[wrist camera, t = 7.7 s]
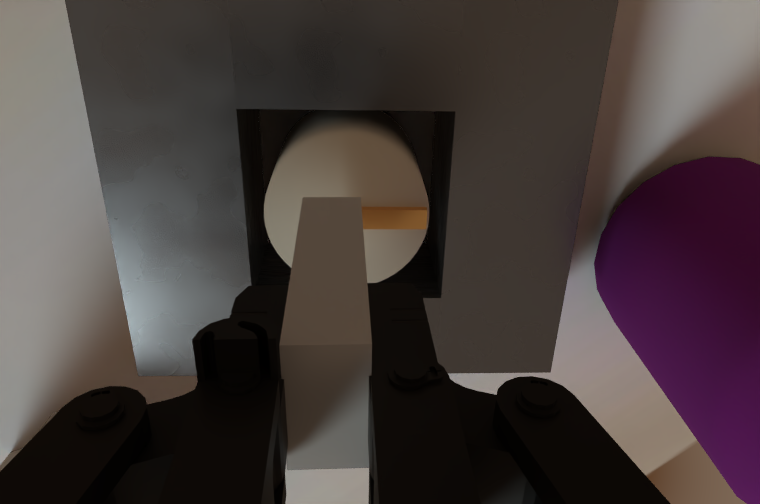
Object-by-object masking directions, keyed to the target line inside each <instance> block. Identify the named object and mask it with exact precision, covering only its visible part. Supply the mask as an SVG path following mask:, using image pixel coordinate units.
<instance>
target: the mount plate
mask: <svg viewBox="0 0 760 504" xmlns="http://www.w3.org/2000/svg"><path fill="white" fill-rule="evenodd" d="M65 3H66V8H67V13H68V18H69V23H70V28H71V33H72V38H73V44H74V49H75V54H76V59H77V64H78V69H79V74H80V79H81V85H82V90H83V95H84V100H85V105H86V110H87V115H88V120H89V126H90V131H91V136H92V141H93V146H94V151H95V156H96V161H97V167H98V172H99V177H100V182H101V187H102V192H103V197H104V202H105V207H106V213H107V218H108V223H109V228H110V233H111V238H112V243H113V248H114V254H115V259H116V264H117V269H118V274H119V279H120V284H121V289H122V295H123V300H124V305H125V310H126V315H127V320H128V325H129V330H130V335H131V341H132V346H133V351H134V356H135V361H136V366H137V371H138V376H196V375H197V372H196V365H195V358H194V351H193V343H192V339H193V338H194V336H195V335H196V334H197V332H198V331H199V330H201V329H202V328H204V327H205V326H207V325H209V324H210V323H213V322H216V321H219V320H222V319H226V318H229V317H230V315H231V310H232V307H233V304H234V301H235V298H236V297H237V296H238V295H239V294H240V293H241V292H242V291H244V290H245V289H246V288H247V287H248V286H275V285H289V281H290V275H291V267H290V266H289V265H288V264H286V263H285V262H284V261H283V259H282V258H281V257H280V256H279V254H278V253H277V252H276V250H275V248H274V247H273V245H272V244H268V237H267V230H266V227H265V220H264V202H265V193H264V178H263V163H262V149H261V134H260V119H259V109H292V110H379V111H436V112H435V128H434V144H433V160H432V176H431V192H430V208H429V224H428V240H427V244H421V246H420V248H419V250H418V251H417V253H416V254H415V255H414V257H413V258H412V259H411V260H410V261H409V262H408V263H407V264H406V265H405V266H404V267H403V268H402V269H401V270H399V271H398V272H397V273H395V274H394V275H392V276H390V277H388V278H387V279H384V280H382V281H380V282H377V283H411V284H412V285H413V286H414V287H415V288H416V289H417V290H418V291H419V292H420V293H421V294H422V296H423V301H424V305H425V311H426V313H427V318H428V322H429V326H430V331H431V335H432V339H433V343H434V348H435V352H436V356H437V361H438V363H439V364H440V365H442V366H443V367H444V368H445V370H446V372H447V373H532V372H551V366H552V361H553V355H554V350H555V344H556V339H557V333H558V328H559V322H560V317H561V311H562V306H563V300H564V295H565V290H566V284H567V279H568V273H569V268H570V262H571V257H572V251H573V246H574V240H575V235H576V229H577V224H578V218H579V213H580V207H581V202H582V197H583V191H584V186H585V180H586V175H587V169H588V164H589V158H590V153H591V147H592V142H593V136H594V131H595V125H596V120H597V114H598V109H599V104H600V98H601V93H602V87H603V82H604V76H605V71H606V65H607V60H608V54H609V49H610V43H611V38H612V32H613V27H614V21H615V16H616V11H617V5H618V0H65Z"/></svg>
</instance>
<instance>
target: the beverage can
mask: <svg viewBox="0 0 760 504" xmlns="http://www.w3.org/2000/svg"><path fill="white" fill-rule="evenodd" d="M594 266H595V275H596V284H597V290H598V292H599V294H600V296H601V298H602V300H603V302H604V304H605V306H606V308H607V309H608V311H609V313H610V315H611V317H612V318H613V320H614V322H615V323H616V325H617V326H618V328H619V329H620V331H621V332H622V333H623V335H624V336H625V338H626V339H627V341H628V342H629V343H630V345H631V346H632V348H633V349H634V351H635V352H636V353H637V355H638V356H639V358H640V359H641V360H642V362H643V363H644V365H645V366H646V368H647V369H648V370H649V372H650V373H651V375H652V376H653V378H654V379H655V380H656V382H657V383H658V385H659V386H660V388H661V389H662V390H663V392H664V393H665V395H666V396H667V398H668V399H669V400H670V402H671V403H672V405H673V406H674V407H675V409H676V410H677V412H678V413H679V415H680V416H681V417H682V419H683V420H684V422H685V423H686V425H687V426H688V427H689V429H690V430H691V432H692V433H693V435H694V436H695V437H696V439H697V440H698V442H699V443H700V445H701V446H702V447H703V449H704V450H705V451H706V453H707V454H708V456H709V457H710V459H711V460H712V462H713V463H714V464H715V466H716V467H717V469H718V470H719V471H720V473H721V474H722V476H723V477H724V479H725V480H726V482H727V483H728V484H729V486H730V487H731V489H732V490H733V492H734V493H735V494H736V496H737V497H739V498H740V499H741V500H743V501H744V502H745V503H747V504H760V165H758V164H756V163H754V162H751V161H748V160H745V159H742V158H727V157H705V158H701V159H697V160H693V161H689V162H685V163H681V164H677V165H674V166H672V167H670V168H668V169H667V170H665V171H663V172H661V173H660V174H658V175H656V176H654V177H652V178H651V179H649V180H647V181H645V182H643V183H642V184H641V185H640V186H639V187H638V188H637V189H636V190H635V191H634V192H633V193H632V194H631V195H630V196H629V197H628V198H627V199H625V200H624V201H623V202H622V203H621V204H620V205H619V206H618V207H617V209H616V211H615V212H614V214H613V216H612V217H611V219H610V221H609V222H608V224H607V226H606V227H605V229H604V231H603V232H602V234H601V237H600V241H599V245H598V249H597V253H596V257H595V261H594Z"/></svg>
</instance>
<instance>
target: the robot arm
mask: <svg viewBox="0 0 760 504" xmlns="http://www.w3.org/2000/svg"><path fill="white" fill-rule="evenodd" d="M192 343H193V351H194V358H195V365H196V372H197V379H198V383H197V386H196V389H195V390H193V391H191V392H189V393H187V394H185V395H182V396H179V397H176V398H173V399H169V400H165V401H161V402H156V403H152V404H148V405H146V400H145V397H144V396H143V395H142V394H141V393H139V392H138V391H137V390H134V389H131V388H128V387H116V386H109V387H104V388H100V389H95V390H91V391H89V392H87V393H84V394H82V395H80V396H78V397H76V398H74V399H73V400H72V401H70V402H69V403H68V404H66V405H65V406H64V407H62V408H61V409H60V410H59V411H58V413H57V414H56V415H55V416H54V417H53V418H52V419H51V420H50V421H49V422H48V423H47V424H46V425H45V426H44V427H43V428H42V429H41V430H40V431H39V432H38V433H37V434H36V435H35V436H34V437H33V438H32V439H31V440H30V441H29V442H28V443H27V444H26V445H25V446H24V448H23V449H22V450H21V451H20V452H19V453H18V454H17V455H16V456H15V457H14V458H13V459H12V460H11V461H10V462H9V463H8V464H7V465H6V466H5V467H4V468H3V469H2V470H1V471H0V504H285V501H286V484H285V466H286V459H287V470H303V469H339V468H369V504H670V503H669V501H668V500H667V499H666V498H665V497H664V496H663V495H662V494H661V492H660V491H659V490H658V489H657V488H656V487H655V486H654V485H653V483H651V481H650V480H649V479H648V478H647V477H646V476H645V474H644V473H643V472H642V471H641V470H640V469H639V468H638V467H637V465H636V464H635V463H634V462H633V461H632V460H631V459H630V458H629V456H628V455H627V454H626V453H625V452H624V451H623V450H622V449H621V447H620V446H619V445H618V444H617V443H616V442H615V441H614V440H613V438H612V437H611V436H610V435H609V434H608V433H607V432H606V431H605V429H604V428H603V427H602V426H601V425H600V424H599V423H598V422H597V420H596V419H595V418H594V417H593V416H592V415H591V414H590V413H589V411H588V410H587V409H586V408H585V407H584V406H583V405H582V404H581V402H580V401H579V400H578V399H577V398H576V397H575V396H574V395H573V394H572V393H571V392H570V391H568V390H567V389H566V388H565V387H563V386H562V385H560V384H557V383H555V382H553V381H551V380H548V379H543V378H538V377H533V376H530V377H517V378H514V379H511V380H508V381H506V382H505V383H504V384H503V385H502V386H501V387H499V388H498V391H497V395H494V394H489V393H484V392H479V391H475V390H472V389H468V388H465V387H463V386H461V385H459V384H457V383H455V382H453V381H452V380H451V379H450V377H449V375H448V373H447V372H446V370H445V368H444V367H443V366H442V365H440V364H439V363H438V361H437V356H436V352H435V348H434V343H433V339H432V335H431V331H430V326H429V322H428V318H427V313H426V311H425V305H424V301H423V296H422V294H421V293H420V292H419V291H418V290H417V289H416V288H415V287H414V286H413V285H412V284H411V283H367V272H366V259H365V246H364V233H363V220H362V207H361V197H303V198H302V205H301V211H300V217H299V224H298V230H297V237H296V243H295V249H294V256H293V262H292V268H291V275H290V281H289V285H275V286H248V287H247V288H246V289H245V290H244V291H242V292H241V293H240V294H239V295H238V296H237V297H236V298H235V301H234V304H233V307H232V310H231V315H230V317H229V318H226V319H222V320H219V321H216V322H213V323H210V324H209V325H207V326H205V327H204V328H202V329H201V330H199V331H198V332H197V334H196V335H195V336H194V338H193V339H192Z"/></svg>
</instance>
